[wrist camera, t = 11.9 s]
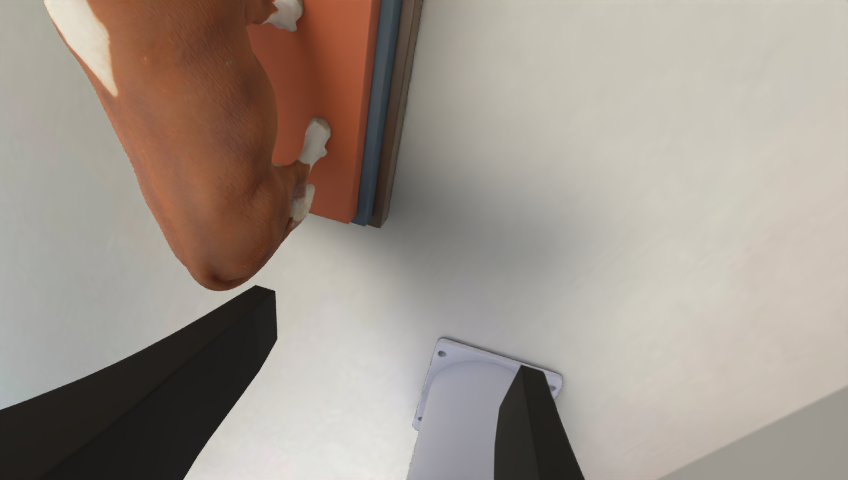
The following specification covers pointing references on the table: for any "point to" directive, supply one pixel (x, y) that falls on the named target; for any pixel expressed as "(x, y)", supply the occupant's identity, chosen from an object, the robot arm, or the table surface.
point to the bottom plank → (395, 107)
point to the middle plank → (377, 107)
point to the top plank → (323, 92)
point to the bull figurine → (198, 123)
